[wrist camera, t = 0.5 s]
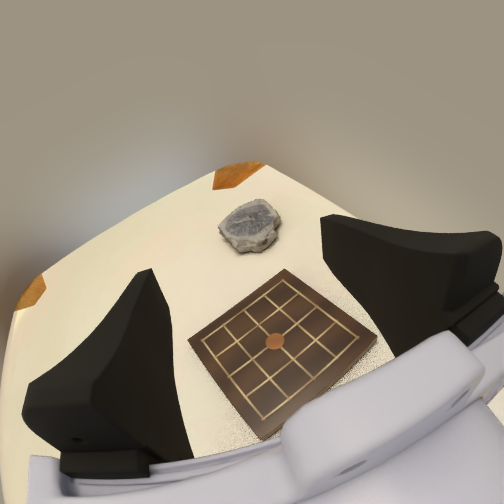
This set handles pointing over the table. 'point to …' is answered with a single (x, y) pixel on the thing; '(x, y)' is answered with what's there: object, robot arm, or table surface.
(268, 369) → the board
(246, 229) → the fossil
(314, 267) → the table surface
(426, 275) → the robot arm
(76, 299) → the table surface
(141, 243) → the table surface
